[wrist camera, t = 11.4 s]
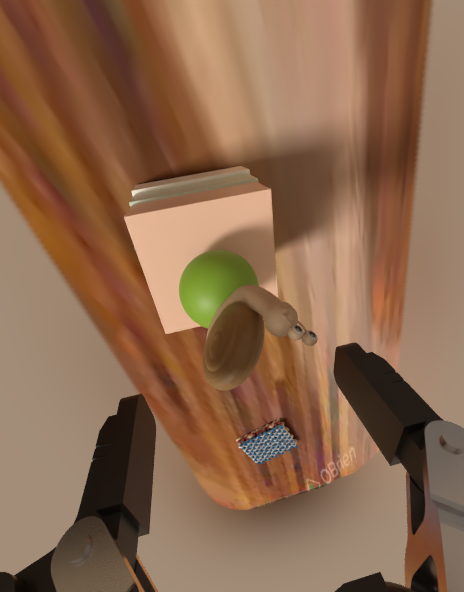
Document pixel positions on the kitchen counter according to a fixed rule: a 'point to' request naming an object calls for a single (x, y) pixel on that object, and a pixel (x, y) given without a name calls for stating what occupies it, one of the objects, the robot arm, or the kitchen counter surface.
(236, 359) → the snail figurine
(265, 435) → the woven mat
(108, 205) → the kitchen counter surface
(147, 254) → the stacked pastel boxes
